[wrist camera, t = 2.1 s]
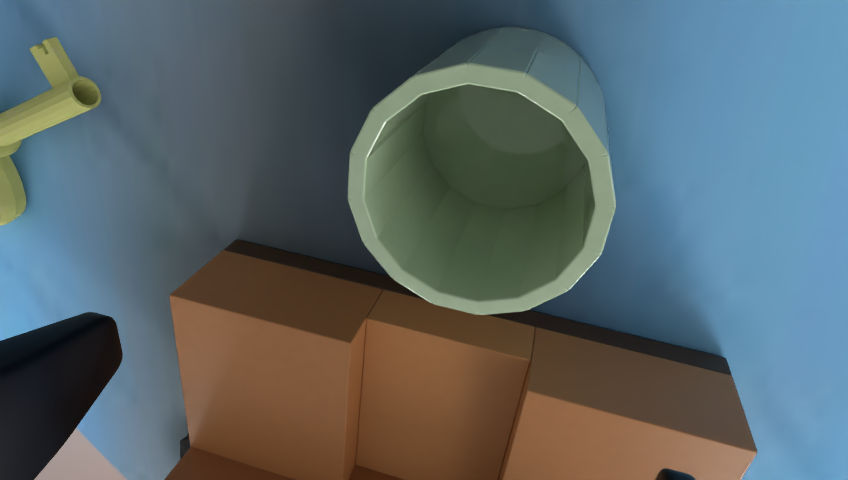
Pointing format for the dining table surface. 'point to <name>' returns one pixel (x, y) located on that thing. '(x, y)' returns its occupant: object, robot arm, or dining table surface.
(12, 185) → the key
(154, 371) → the dining table surface
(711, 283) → the dining table surface
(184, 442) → the hairbrush
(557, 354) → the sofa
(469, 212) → the cup
